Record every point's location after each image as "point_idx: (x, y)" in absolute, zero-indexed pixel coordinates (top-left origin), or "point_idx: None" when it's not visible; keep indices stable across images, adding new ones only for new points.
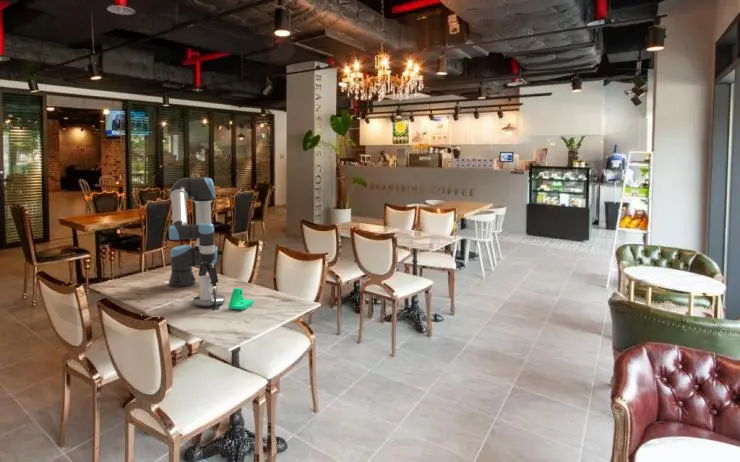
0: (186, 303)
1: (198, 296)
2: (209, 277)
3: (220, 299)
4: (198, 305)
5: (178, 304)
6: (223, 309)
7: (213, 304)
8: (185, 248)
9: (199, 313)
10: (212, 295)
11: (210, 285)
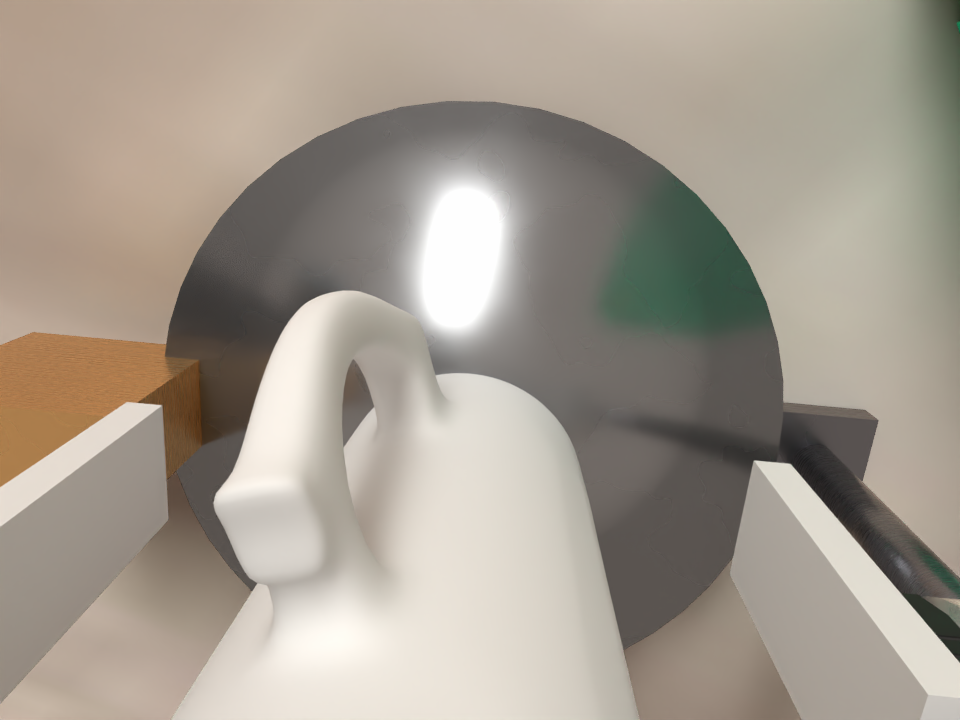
0: (210, 618)
1: (209, 506)
2: (281, 706)
3: (705, 302)
4: None
5: None
6: (935, 369)
7: None
8: None
9: (788, 698)
10: (528, 411)
11: (623, 654)
